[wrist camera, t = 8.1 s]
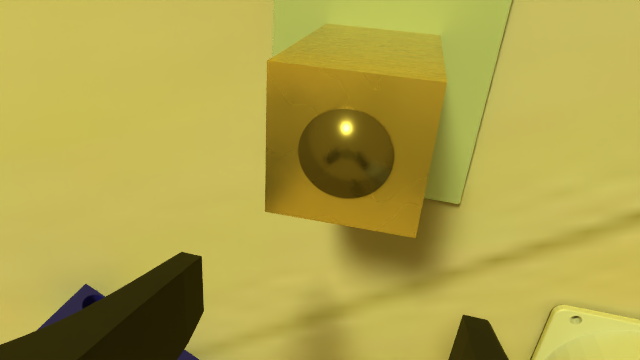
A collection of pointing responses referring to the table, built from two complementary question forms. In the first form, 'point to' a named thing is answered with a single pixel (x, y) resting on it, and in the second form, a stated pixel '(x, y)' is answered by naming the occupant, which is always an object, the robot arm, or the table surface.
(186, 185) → the table surface
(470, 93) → the mat
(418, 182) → the yellow rectangular block
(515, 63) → the table surface
